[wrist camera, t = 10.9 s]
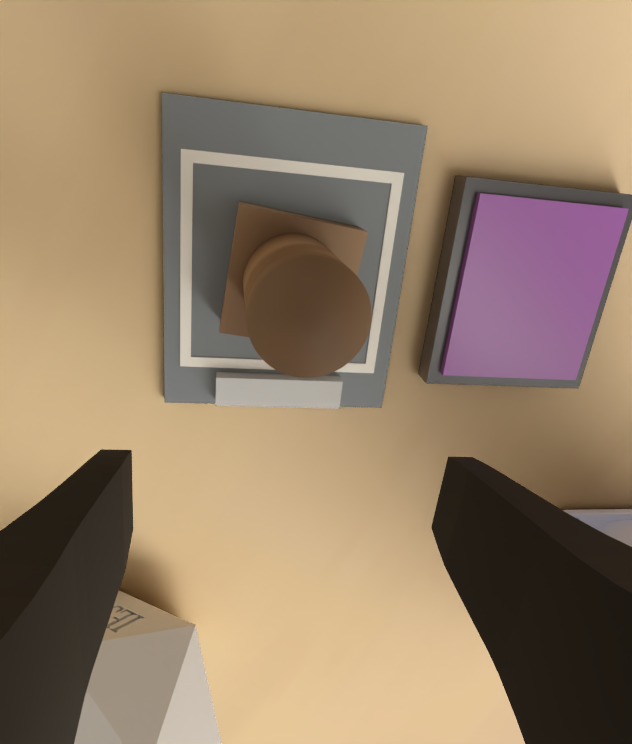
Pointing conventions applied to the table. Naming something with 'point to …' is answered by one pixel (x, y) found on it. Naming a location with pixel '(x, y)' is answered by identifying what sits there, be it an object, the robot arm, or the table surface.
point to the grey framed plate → (285, 192)
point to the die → (147, 682)
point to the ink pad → (522, 283)
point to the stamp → (296, 290)
